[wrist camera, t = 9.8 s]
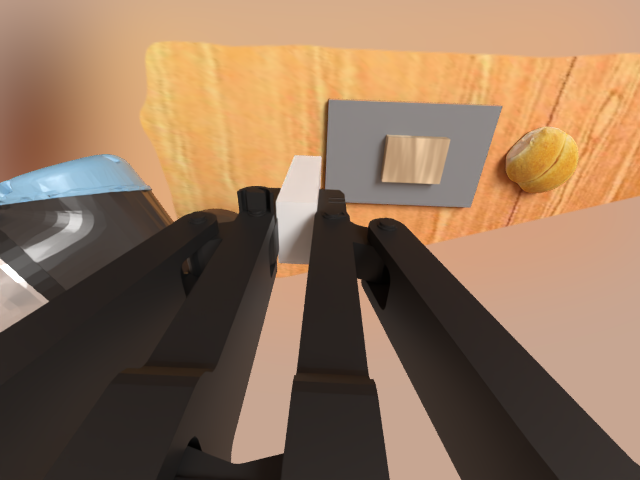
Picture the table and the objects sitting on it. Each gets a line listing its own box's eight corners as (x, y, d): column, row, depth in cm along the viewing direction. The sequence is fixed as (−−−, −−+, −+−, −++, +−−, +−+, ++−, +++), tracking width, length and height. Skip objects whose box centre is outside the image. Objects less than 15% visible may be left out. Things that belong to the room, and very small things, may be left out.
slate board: (324, 198, 46) (324, 201, 45) (328, 98, 39) (328, 99, 38) (467, 204, 46) (470, 207, 45) (497, 105, 38) (502, 106, 37)
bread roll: (532, 197, 45) (549, 208, 42) (491, 165, 43) (505, 174, 39) (583, 151, 41) (606, 159, 38) (541, 114, 39) (562, 118, 36)
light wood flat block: (382, 181, 41) (439, 184, 41) (388, 137, 38) (450, 139, 38) (380, 178, 43) (436, 180, 43) (386, 134, 40) (446, 137, 40)
